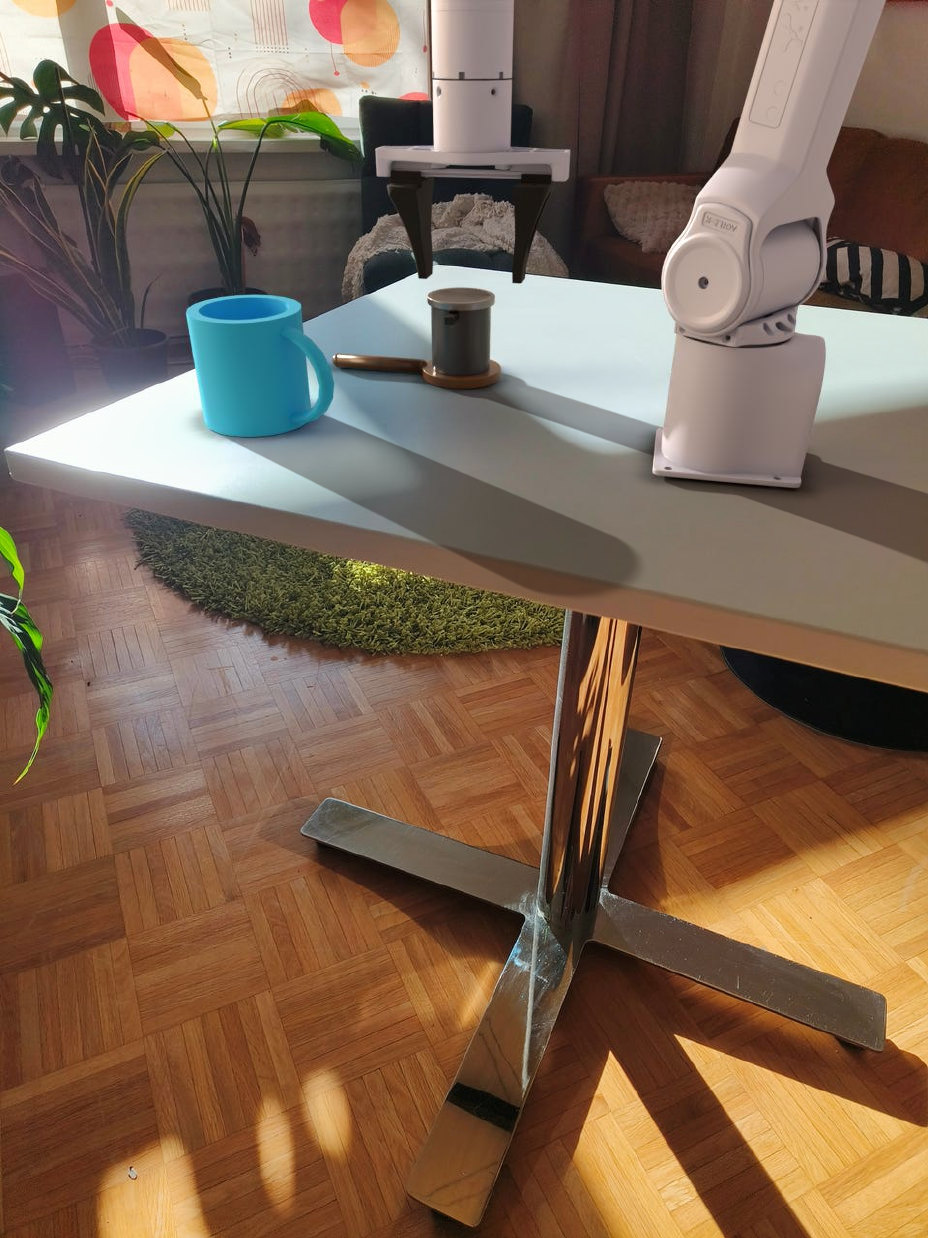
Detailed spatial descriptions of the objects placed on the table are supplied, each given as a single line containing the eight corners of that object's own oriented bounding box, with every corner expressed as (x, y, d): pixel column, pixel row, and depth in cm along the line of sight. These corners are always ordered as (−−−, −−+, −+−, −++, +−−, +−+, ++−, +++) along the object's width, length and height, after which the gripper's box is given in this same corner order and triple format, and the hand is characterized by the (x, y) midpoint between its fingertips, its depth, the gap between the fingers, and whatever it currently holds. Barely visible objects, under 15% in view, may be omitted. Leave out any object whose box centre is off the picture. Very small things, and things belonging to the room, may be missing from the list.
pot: (498, 359, 76) (500, 288, 73) (482, 385, 71) (483, 310, 67) (437, 355, 77) (436, 285, 74) (416, 380, 72) (414, 306, 68)
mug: (181, 421, 66) (161, 311, 61) (259, 392, 71) (246, 289, 67) (297, 457, 60) (283, 339, 56) (371, 422, 66) (365, 312, 61)
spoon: (506, 366, 77) (507, 353, 77) (492, 391, 72) (493, 377, 71) (345, 355, 80) (344, 342, 79) (320, 378, 74) (318, 364, 74)
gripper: (579, 78, 64) (567, 271, 71) (391, 77, 66) (398, 264, 74) (568, 80, 58) (556, 291, 65) (362, 79, 61) (374, 282, 68)
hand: (471, 278), depth 69 cm, fingers open, 7 cm apart
